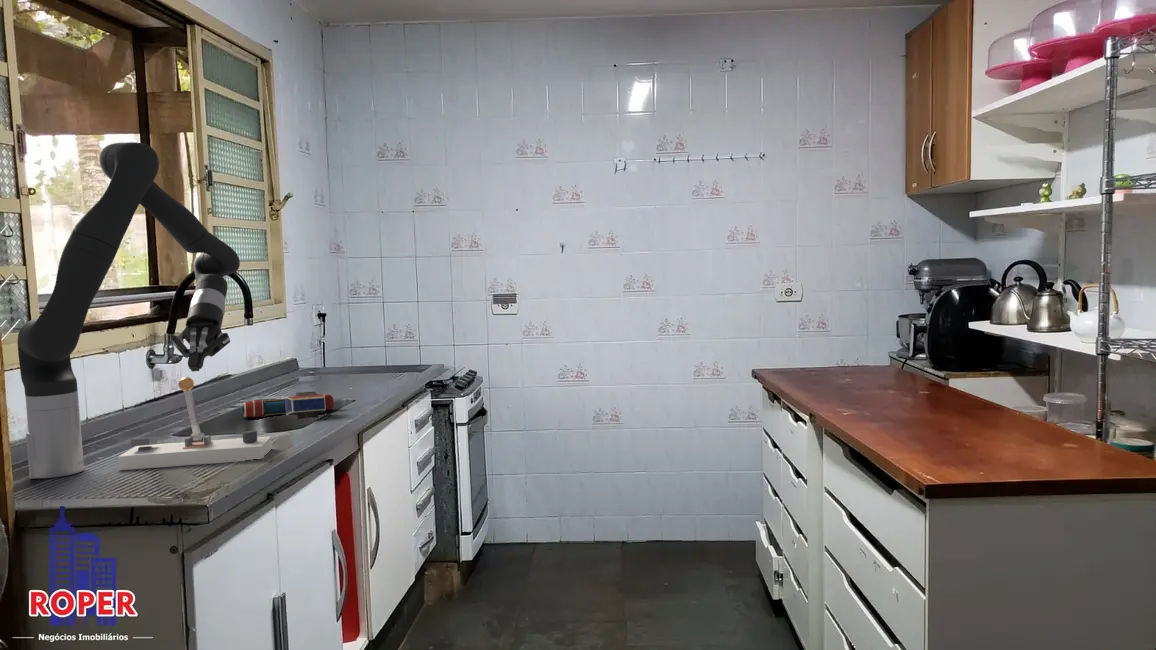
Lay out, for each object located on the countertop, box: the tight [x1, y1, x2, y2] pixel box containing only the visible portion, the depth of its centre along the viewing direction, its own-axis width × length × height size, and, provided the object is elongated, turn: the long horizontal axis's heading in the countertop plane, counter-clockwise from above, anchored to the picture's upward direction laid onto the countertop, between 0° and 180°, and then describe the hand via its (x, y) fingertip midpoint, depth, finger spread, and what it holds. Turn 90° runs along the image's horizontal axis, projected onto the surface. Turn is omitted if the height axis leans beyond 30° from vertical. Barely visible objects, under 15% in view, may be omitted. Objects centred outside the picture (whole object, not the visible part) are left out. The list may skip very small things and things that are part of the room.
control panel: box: [117, 434, 273, 471], centre depth 174 cm, size 11×29×5 cm, turn 101°
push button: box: [242, 430, 258, 442], centre depth 176 cm, size 3×3×2 cm
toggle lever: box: [177, 376, 206, 443], centre depth 171 cm, size 3×3×16 cm
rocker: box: [130, 437, 158, 447], centre depth 172 cm, size 5×4×1 cm
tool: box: [240, 391, 335, 420], centre depth 224 cm, size 8×25×20 cm
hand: (194, 369), depth 174 cm, fingers closed
